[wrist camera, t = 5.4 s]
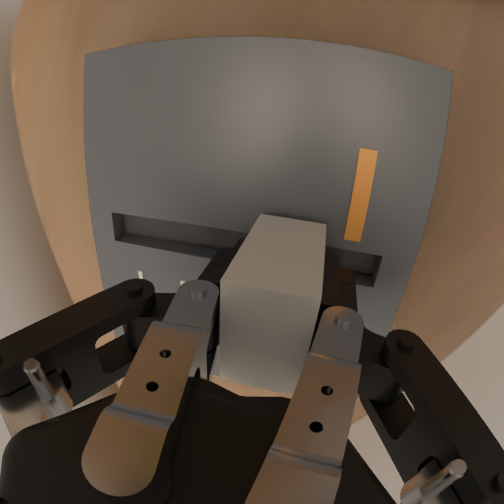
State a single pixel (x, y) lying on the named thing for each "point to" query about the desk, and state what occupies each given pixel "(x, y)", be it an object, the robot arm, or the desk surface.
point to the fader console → (261, 156)
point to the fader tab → (271, 303)
